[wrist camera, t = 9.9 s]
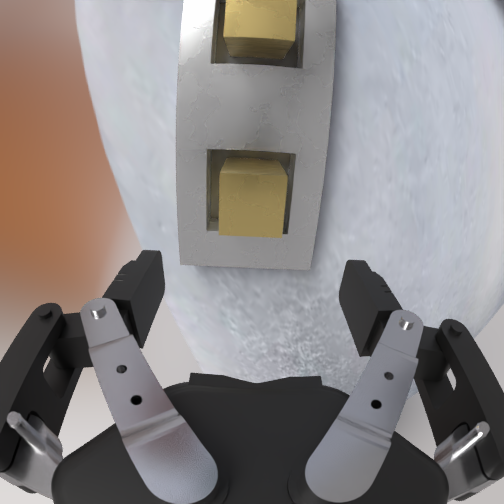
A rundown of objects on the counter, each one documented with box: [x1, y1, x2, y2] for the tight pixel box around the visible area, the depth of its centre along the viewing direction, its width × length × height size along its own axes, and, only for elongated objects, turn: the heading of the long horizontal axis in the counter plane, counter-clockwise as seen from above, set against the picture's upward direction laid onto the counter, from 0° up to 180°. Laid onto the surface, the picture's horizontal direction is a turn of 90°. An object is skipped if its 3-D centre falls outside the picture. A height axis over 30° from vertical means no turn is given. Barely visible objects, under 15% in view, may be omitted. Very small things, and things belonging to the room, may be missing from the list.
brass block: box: [219, 157, 288, 238], centre depth 23 cm, size 4×4×7 cm
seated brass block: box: [223, 0, 297, 60], centre depth 16 cm, size 4×4×7 cm
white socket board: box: [176, 0, 336, 270], centre depth 21 cm, size 28×12×3 cm, turn 177°
